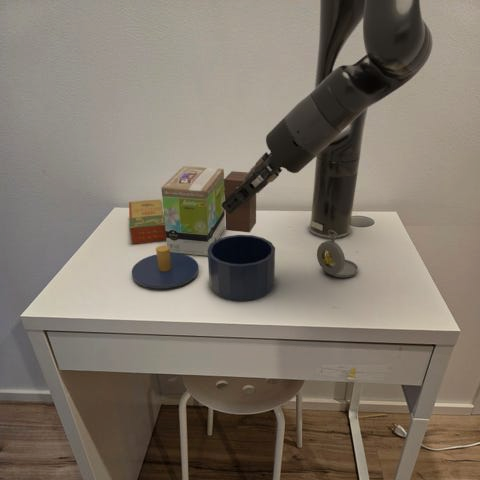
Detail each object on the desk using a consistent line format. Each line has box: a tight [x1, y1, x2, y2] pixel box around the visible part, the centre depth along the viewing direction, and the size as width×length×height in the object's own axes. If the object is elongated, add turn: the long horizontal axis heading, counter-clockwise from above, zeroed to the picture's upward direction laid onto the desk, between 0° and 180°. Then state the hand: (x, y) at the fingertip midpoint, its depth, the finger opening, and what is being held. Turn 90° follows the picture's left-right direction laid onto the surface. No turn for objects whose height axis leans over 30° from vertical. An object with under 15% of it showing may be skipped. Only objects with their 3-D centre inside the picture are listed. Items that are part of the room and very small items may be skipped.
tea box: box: [160, 166, 226, 257], centre depth 97 cm, size 15×10×15 cm, turn 168°
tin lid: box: [131, 244, 200, 289], centre depth 87 cm, size 13×13×6 cm
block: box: [224, 170, 257, 234], centre depth 75 cm, size 4×4×9 cm
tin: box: [207, 234, 276, 302], centre depth 83 cm, size 12×12×8 cm
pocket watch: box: [316, 230, 359, 278], centre depth 85 cm, size 8×8×10 cm
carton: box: [128, 199, 167, 245], centre depth 105 cm, size 8×16×4 cm, turn 12°
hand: (230, 203), depth 76 cm, fingers closed on block, 4 cm apart
